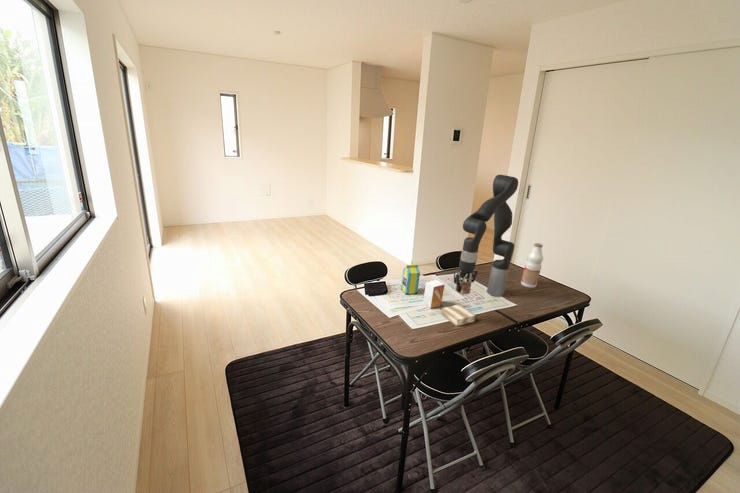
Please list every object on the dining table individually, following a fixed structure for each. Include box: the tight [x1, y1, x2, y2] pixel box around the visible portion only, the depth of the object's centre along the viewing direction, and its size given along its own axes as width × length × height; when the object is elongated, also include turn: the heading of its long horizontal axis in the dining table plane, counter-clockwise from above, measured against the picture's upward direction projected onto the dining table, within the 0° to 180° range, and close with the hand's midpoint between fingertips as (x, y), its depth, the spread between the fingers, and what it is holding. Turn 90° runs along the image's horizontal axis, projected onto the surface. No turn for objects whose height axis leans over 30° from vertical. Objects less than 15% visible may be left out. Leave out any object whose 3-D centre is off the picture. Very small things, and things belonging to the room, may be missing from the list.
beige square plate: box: [440, 303, 476, 327], centre depth 178 cm, size 12×12×4 cm
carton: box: [400, 260, 421, 296], centre depth 200 cm, size 7×8×18 cm
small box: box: [422, 279, 445, 309], centre depth 188 cm, size 8×6×13 cm
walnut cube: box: [454, 280, 472, 296], centre depth 173 cm, size 5×5×5 cm
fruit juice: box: [520, 242, 544, 289], centre depth 221 cm, size 9×9×28 cm
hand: (462, 290), depth 174 cm, fingers closed on walnut cube, 5 cm apart
